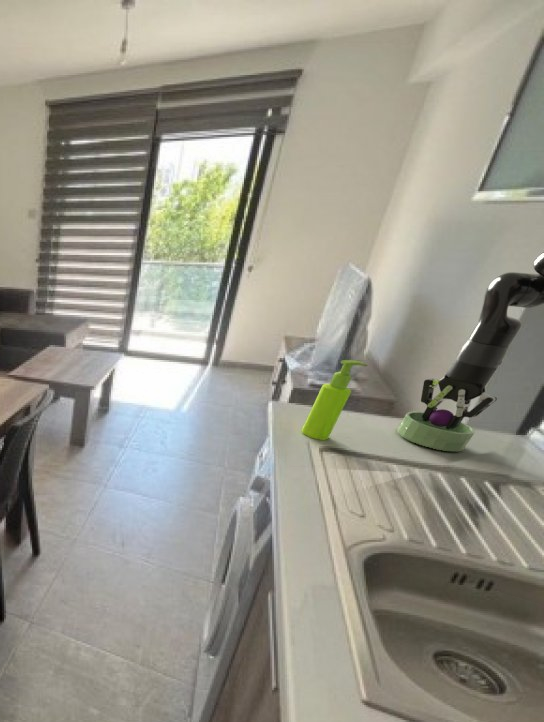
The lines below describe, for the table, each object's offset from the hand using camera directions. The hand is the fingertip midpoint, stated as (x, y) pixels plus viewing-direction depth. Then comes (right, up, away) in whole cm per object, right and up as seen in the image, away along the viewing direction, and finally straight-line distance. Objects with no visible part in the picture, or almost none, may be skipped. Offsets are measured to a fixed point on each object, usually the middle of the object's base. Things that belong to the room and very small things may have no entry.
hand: (437, 424), depth 123 cm
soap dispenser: (-30, -3, +2) cm, 30 cm away
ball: (0, +2, -1) cm, 2 cm away
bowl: (0, -4, +2) cm, 5 cm away
